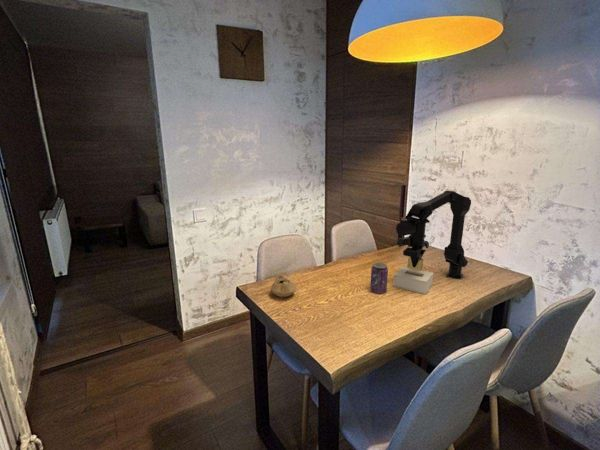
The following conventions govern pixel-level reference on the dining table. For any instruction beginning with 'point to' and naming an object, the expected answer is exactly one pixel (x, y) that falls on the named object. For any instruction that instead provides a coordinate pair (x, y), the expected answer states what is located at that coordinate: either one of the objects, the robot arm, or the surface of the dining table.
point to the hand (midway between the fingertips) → (414, 266)
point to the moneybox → (413, 280)
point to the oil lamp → (283, 287)
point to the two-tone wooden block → (418, 266)
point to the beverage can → (379, 277)
